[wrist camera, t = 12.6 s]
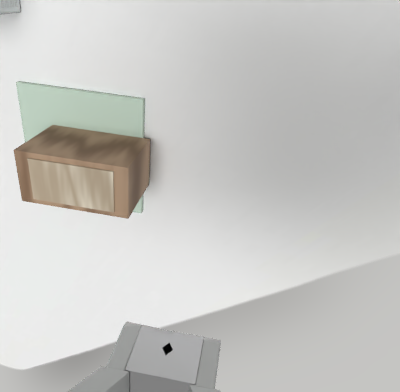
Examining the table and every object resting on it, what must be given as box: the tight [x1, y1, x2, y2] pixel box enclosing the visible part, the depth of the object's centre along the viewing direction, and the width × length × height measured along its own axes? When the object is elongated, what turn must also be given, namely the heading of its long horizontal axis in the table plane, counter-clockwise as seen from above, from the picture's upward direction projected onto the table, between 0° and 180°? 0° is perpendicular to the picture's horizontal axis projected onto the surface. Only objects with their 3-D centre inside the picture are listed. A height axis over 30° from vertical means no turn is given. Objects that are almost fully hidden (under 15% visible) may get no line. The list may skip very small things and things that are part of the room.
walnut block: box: [14, 125, 150, 218], centre depth 43 cm, size 8×6×12 cm
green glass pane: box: [16, 81, 145, 213], centre depth 47 cm, size 15×15×1 cm
